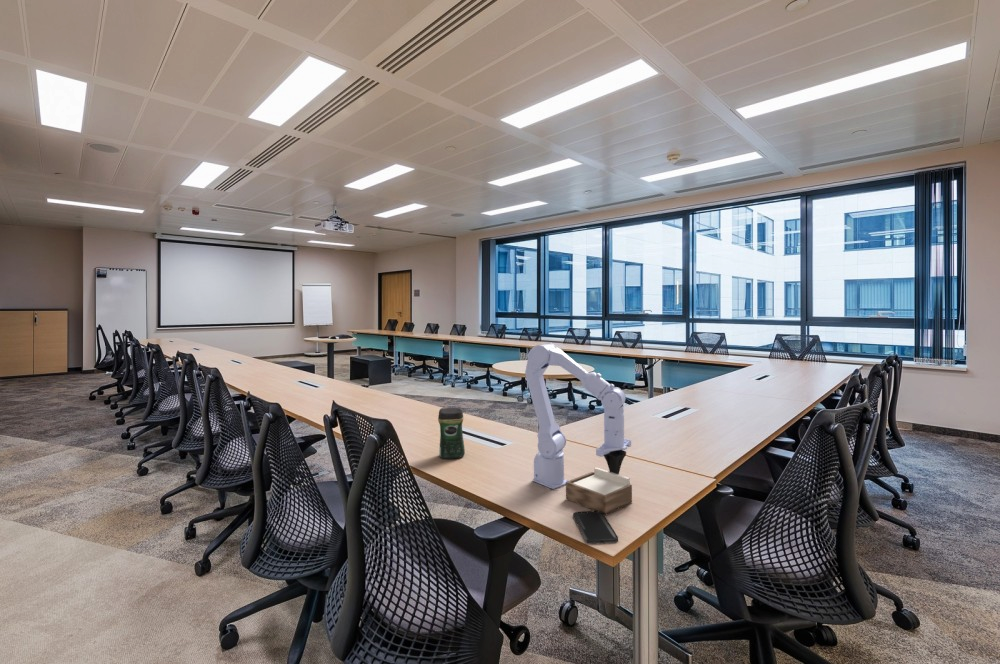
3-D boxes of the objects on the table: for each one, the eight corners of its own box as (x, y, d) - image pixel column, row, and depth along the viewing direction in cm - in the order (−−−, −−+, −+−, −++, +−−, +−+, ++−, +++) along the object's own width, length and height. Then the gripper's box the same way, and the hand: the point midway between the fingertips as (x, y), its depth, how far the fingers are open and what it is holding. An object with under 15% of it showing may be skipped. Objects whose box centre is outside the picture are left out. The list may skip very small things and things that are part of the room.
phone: (601, 510, 119) (619, 539, 104) (601, 514, 119) (619, 543, 104) (572, 512, 119) (586, 540, 104) (572, 516, 119) (586, 545, 104)
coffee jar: (464, 452, 173) (463, 405, 172) (464, 459, 165) (463, 409, 165) (439, 453, 173) (438, 406, 172) (438, 460, 165) (437, 410, 164)
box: (566, 498, 129) (565, 481, 128) (592, 487, 136) (592, 471, 136) (605, 515, 118) (605, 496, 118) (631, 502, 125) (631, 484, 125)
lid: (572, 485, 129) (572, 476, 128) (596, 476, 136) (596, 467, 135) (605, 498, 119) (605, 488, 119) (629, 487, 126) (629, 477, 126)
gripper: (610, 437, 123) (610, 485, 124) (639, 427, 132) (640, 472, 133) (590, 432, 129) (590, 478, 129) (619, 423, 138) (620, 466, 139)
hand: (614, 475), depth 132 cm, fingers closed
